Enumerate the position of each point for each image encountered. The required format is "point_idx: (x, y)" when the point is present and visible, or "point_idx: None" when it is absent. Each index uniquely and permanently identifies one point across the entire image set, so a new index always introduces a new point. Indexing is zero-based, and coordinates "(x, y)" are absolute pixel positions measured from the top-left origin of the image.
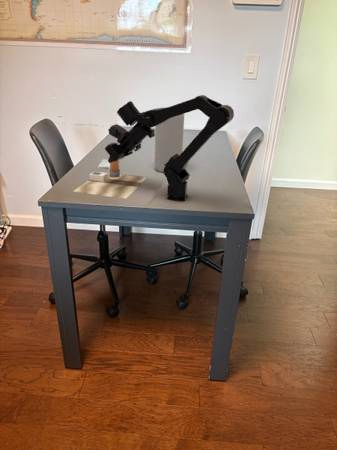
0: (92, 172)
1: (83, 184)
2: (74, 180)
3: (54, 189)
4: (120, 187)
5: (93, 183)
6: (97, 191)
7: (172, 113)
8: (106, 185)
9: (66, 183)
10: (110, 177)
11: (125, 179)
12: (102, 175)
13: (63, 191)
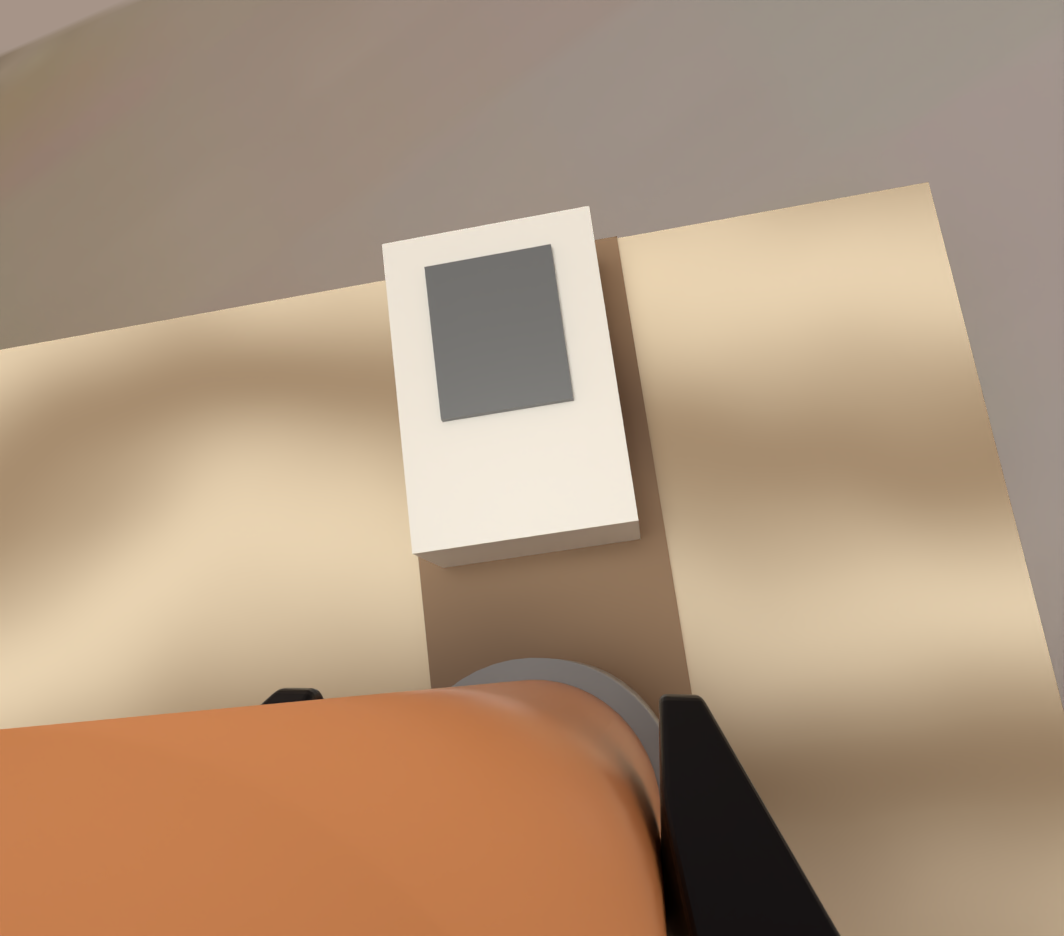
0: (521, 219)
1: (193, 326)
2: (461, 24)
3: (34, 42)
4: None
5: (303, 443)
6: None
7: None
8: None
9: (297, 16)
10: (751, 540)
11: None
12: (448, 509)
13: (9, 186)
